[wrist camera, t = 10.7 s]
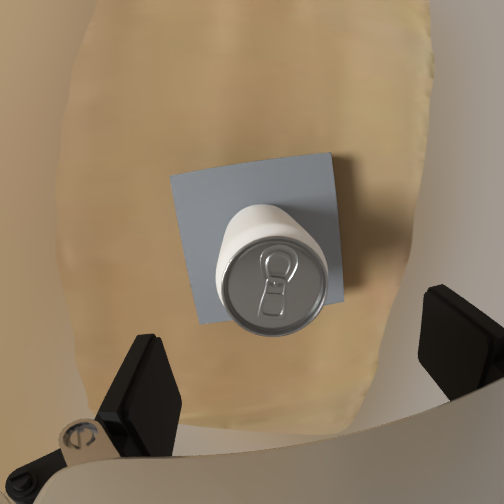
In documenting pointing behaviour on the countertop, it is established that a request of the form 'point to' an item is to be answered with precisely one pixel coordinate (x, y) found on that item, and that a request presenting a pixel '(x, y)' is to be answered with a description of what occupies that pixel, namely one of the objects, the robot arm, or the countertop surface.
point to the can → (270, 272)
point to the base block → (247, 194)
